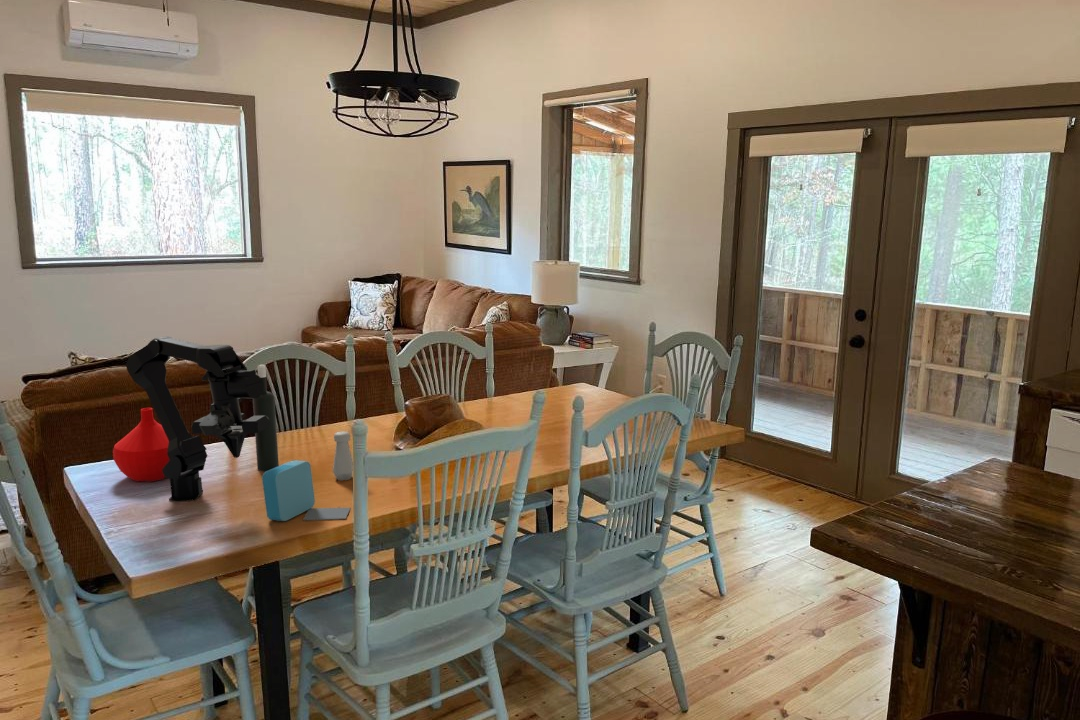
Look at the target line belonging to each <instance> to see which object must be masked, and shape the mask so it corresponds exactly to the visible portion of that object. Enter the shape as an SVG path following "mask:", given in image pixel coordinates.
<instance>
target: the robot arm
mask: <svg viewBox="0 0 1080 720" xmlns="http://www.w3.org/2000/svg"><path fill="white" fill-rule="evenodd" d="M170 358H176V359H180V360H184V361H188V362H192V363H195V364H196V365H197V366H198V367H199V368H201V369H202V370H205V374H204V375H203V376H202V377H201V380H202V381H208V382H209V388H210V392H211V397H212V402H213V403H211V404H210V405H209V406H210V407H209V413H208V414H207V415H205V416H203V417H200V418H199V419H196V420H194V421H193V422H192V424H191V427H190V428H191V431H192V434H191V433H190V432H189V431H188V429H187V426H186V423H185V422H184V420H183V418H182V416H181V414H180V411H179V409H178V407H177V405H176V404H177V403H175V400H174V399H173V395H172V394H171V391H170V390H169V388H168V385H167V382H166V378H167V377H166V376H167V371H168V370H167V366H166V363H167V362H168V361H169V360H171V359H170ZM125 368H126V370H127V373H128V374H129V376H130V377H131V379H132V381H133V382H134V384H136V385H138V386H140V388H142V389H144V390H145V393H146V395H147V397H148V399H149V402H150V403H151V405H152V407H153V410H154V412H155V414H156V416H157V419H158V421H159V424H161V425H162V427H163V429H164V432H165V434H166V436H167V438H168V440H169V444H168V451H167V454H168V457H169V462H168V463H167V464H166V465H165V467H164V468H163V469H162V471H163V474H164V477H165V479H169V483H170V485H169V486H170V495H171V496H170V497H169V498H168V501H170V502H175V501H179V502H180V501H182V502H183V501H196V500H197V498H198V497H200V495H201V494H202V493H204V490H203V481H202V477H201V476H200V471H204V469H205V465H206V461H207V458H208V454H207V451H206V450H207V447H206V446H205V444H204V442H203V439H202V438H201V436H200V435H198V434H203V435H204V436H205V437H209V436H213V437H216V438H219V439H221V440H222V442H223V443H224V445H226V447H227V449H228V450H229V452H230V454H231V455H232V457H233V459H238V458H239V457H240V456H241V452H242V449H243V446H244V445H243V444H244V441H245V439H246V435H247V434H255V433H258V432H260V431H262V430H264V429H265V428H267V427H269V426H270V421H269V418H268V417H267V416H266V415H264V416H254V415H253V416H250V417H249V418H247V419H245V418H246V415H245V413H243V412H241V407H240V403H241V402H243V399H252V400H253V399H256V398H258V397H260V396H261V394H262V393H263V389H264V383H263V382H262V379H261V378H260V377H259V376H258V374H257V371H256V369H249V370H248V368H247V367H246V365H245V363H244V362H243V361H242V360H241V358H240V357H239V355H238V354H237V352H236V351H235V350H234V348H233V346H232V345H230V344H212V345H211V344H210V345H204V344H199V343H194V342H189V341H184V340H181V339H177V338H173V337H171V336H167V335H166V336H161V337H156V338H155V337H154V339H152V340H150V341H149V342H148V344H147V345H144V347H142V348H140V349H139V350H137V351H136V352H135V353H134V354H133V355H130V356H129V357H128V359H127V362H126V364H125ZM194 434H195V435H196V436H194Z"/></svg>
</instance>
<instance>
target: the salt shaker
mask: <svg viewBox="0 0 1080 720" xmlns="http://www.w3.org/2000/svg"><path fill="white" fill-rule="evenodd" d="M333 438H334V440H333V441H334V442H336V443H335V450H334V452H335V453H334V459H333V467H332V473H333V475H334V476H335V479H336V480H337V479H338V480H337V481H343V480H345V481H348V480H351V479H352V477H353V475H352V471H353V465H354V462H353V458H352V453H351V449H350V444H349V441H350V440H351V435H350V433H349V431H343V430H342V431H338V432H337V431H336V432H335V433H334V434H333Z"/></svg>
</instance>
